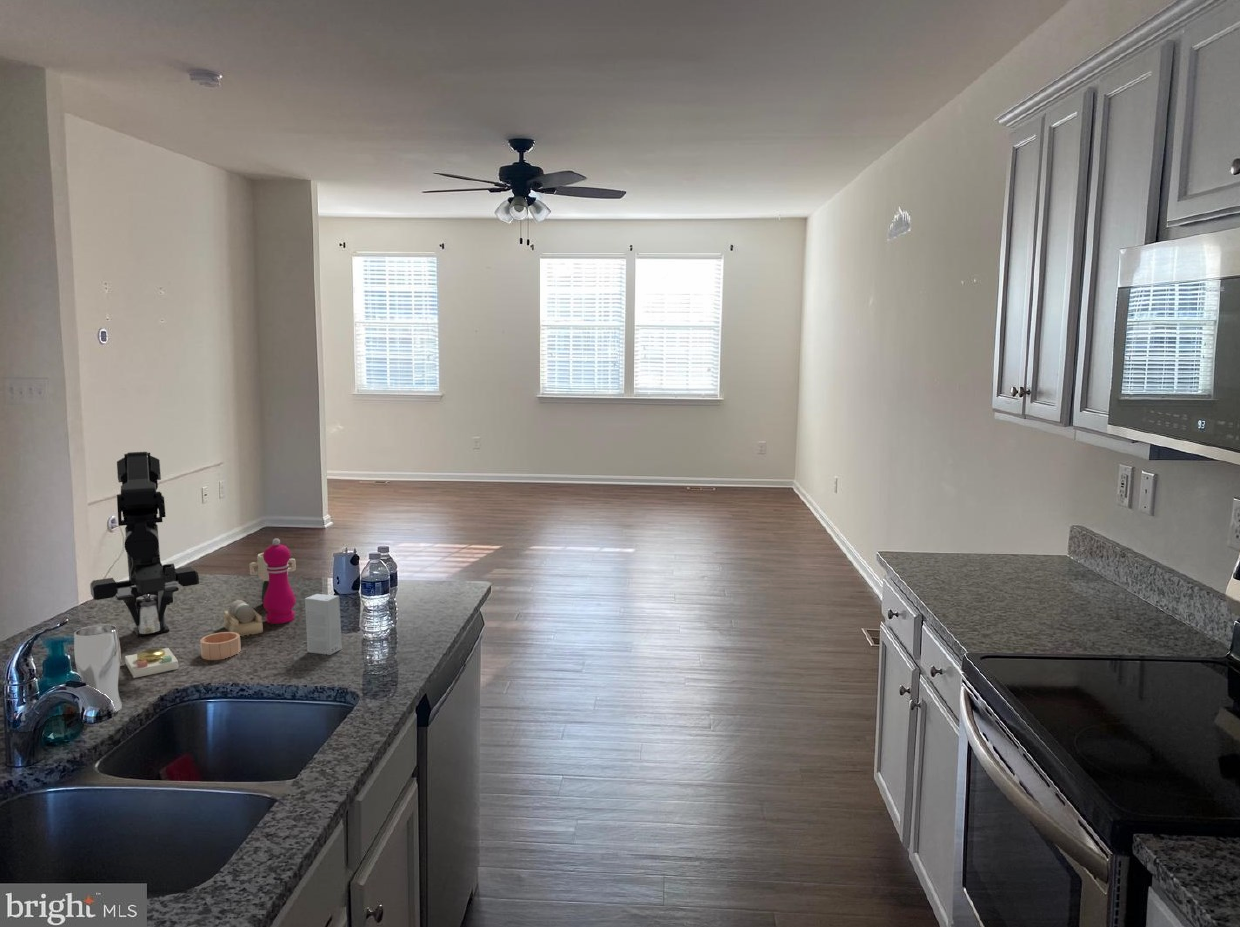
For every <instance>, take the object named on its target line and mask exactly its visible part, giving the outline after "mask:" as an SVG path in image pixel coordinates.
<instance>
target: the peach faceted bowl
mask: <svg viewBox="0 0 1240 927" xmlns="http://www.w3.org/2000/svg"><path fill="white" fill-rule="evenodd" d="M199 644H200V647H199V648H200V657H201V658H202V659H204V660H209V661H218V660H225V658H226V659H229V658H228V657H230V658H232V657H231V656H233V655H235V654H238V655H239V654H240V653H241V652H242V646H241V644H242V643H241V637H240V635H239V634H238V633H234V632H229V631H221V632H216V633H215V632H214V633H211V634H208V635H205V636H203V637H202V638H201V639H200V640H199ZM240 651H241V652H240ZM239 652H240V653H239ZM235 656H236V655H235ZM233 657H234V656H233Z"/></svg>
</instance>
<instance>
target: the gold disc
mask: <svg viewBox="0 0 1240 927" xmlns="http://www.w3.org/2000/svg"><path fill="white" fill-rule="evenodd" d="M163 649H164V648H152V649H145V650H143V651H140V652H138V653H136V654H137V660H139V661H144V660H146V661H153V660H157V659H160V658H161V657H164V656H165V650H163Z"/></svg>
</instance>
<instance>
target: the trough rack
mask: <svg viewBox="0 0 1240 927" xmlns="http://www.w3.org/2000/svg"><path fill="white" fill-rule="evenodd" d="M262 619H263V618H262V615H260V614H259V613H258V612H257V611H256V610H254V608H253V607H252V606H250V605H249V604H248V603H246V602H245V601H244V600H241V599H237V600H234V601H233V602H231V604H230V606H229V611H228V610H223V627H224V628H225V629H226V630H227V632H234V633H238V634H239V635H240V636H242V637H245V636H244V635H247V636H250V635H249V634H252V635H256V634H261V633H264V629H263V628H264V626H263V620H262Z"/></svg>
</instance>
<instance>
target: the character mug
mask: <svg viewBox="0 0 1240 927" xmlns="http://www.w3.org/2000/svg"><path fill="white" fill-rule="evenodd" d="M263 555H264V552H261V553H258V554H257V557H256V558H257V559H256V560H257V561H255V562H250V563H249V565H248V567H249V574H250V576H257V577H258V578H259V579H260V581H264V582H263V583H262V589H261V603H263V601H264V596H265V593H266V591H267V588H268V585H269V573H268V572H267V571H266V570H267V568H266V566H267V565H268V564H267V563H266V562H265V561H264V558H263ZM289 563H291V567H288V568H289V570H288V571H287V576H288V574H289V572H295V571H296V569H297V565H296V559H295V558H290V559H289V561H288V562H287V564H289ZM255 567H257V571H255Z"/></svg>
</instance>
